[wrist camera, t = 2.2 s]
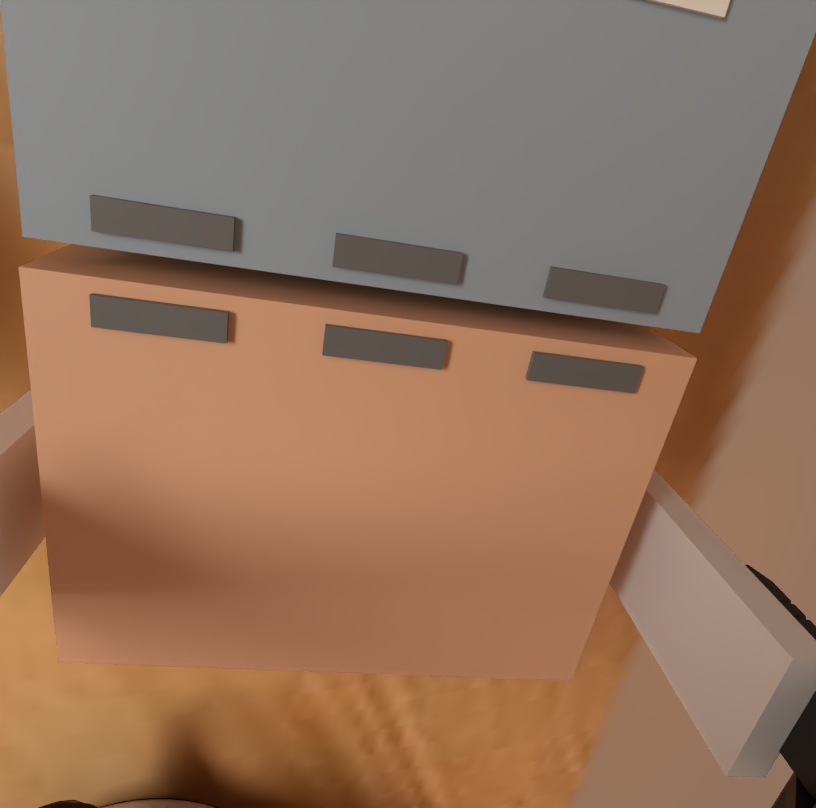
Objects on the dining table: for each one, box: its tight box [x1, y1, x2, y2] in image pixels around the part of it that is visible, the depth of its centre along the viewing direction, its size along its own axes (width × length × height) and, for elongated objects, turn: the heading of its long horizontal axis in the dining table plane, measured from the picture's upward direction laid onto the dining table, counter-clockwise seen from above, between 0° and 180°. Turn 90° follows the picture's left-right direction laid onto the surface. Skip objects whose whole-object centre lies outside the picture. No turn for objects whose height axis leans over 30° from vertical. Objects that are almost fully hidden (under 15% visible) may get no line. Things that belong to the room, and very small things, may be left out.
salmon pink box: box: [19, 244, 697, 681], centre depth 15 cm, size 8×11×8 cm
